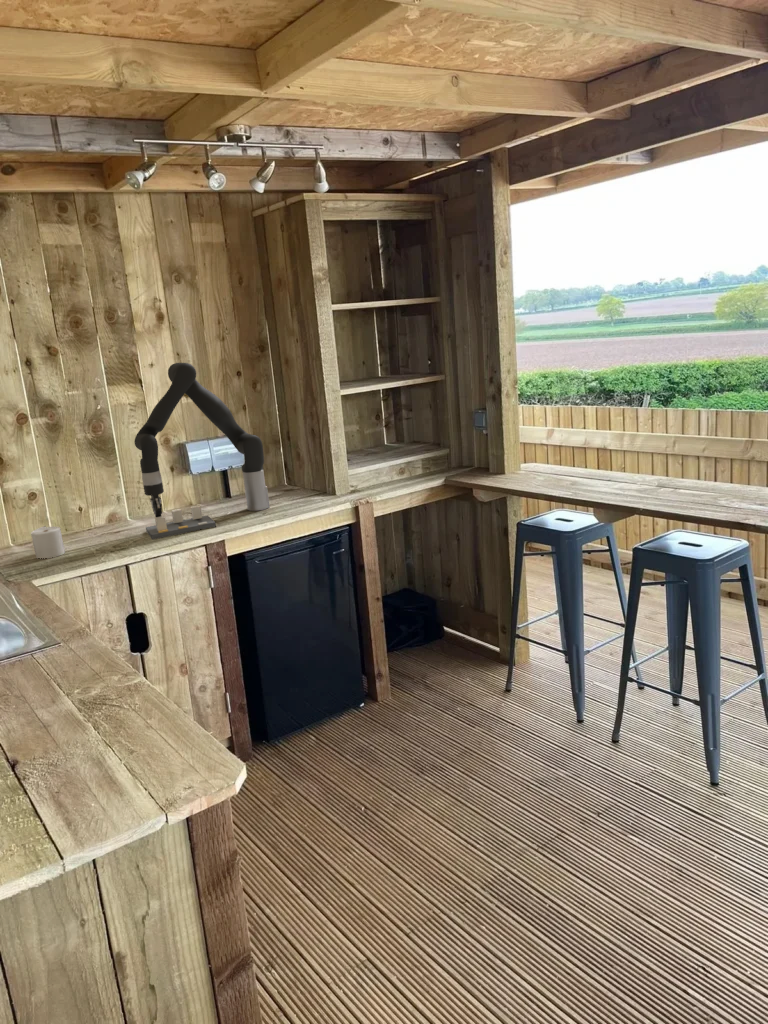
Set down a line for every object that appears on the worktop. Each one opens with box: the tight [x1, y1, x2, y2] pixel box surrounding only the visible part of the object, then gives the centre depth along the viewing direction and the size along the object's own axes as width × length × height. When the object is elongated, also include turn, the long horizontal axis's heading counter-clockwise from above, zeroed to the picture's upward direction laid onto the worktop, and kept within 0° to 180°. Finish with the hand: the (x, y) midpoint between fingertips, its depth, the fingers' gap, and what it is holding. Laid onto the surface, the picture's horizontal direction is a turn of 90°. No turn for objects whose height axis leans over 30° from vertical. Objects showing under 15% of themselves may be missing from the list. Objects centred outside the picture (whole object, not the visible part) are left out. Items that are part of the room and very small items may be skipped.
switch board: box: [145, 515, 217, 540], centre depth 323 cm, size 26×14×2 cm, turn 115°
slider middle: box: [171, 508, 184, 523], centre depth 326 cm, size 4×3×5 cm
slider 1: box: [154, 515, 167, 531], centre depth 316 cm, size 4×3×5 cm
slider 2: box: [190, 504, 203, 520], centre depth 329 cm, size 4×3×5 cm
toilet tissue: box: [30, 525, 66, 560], centre depth 303 cm, size 11×12×10 cm
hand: (159, 523), depth 320 cm, fingers closed
